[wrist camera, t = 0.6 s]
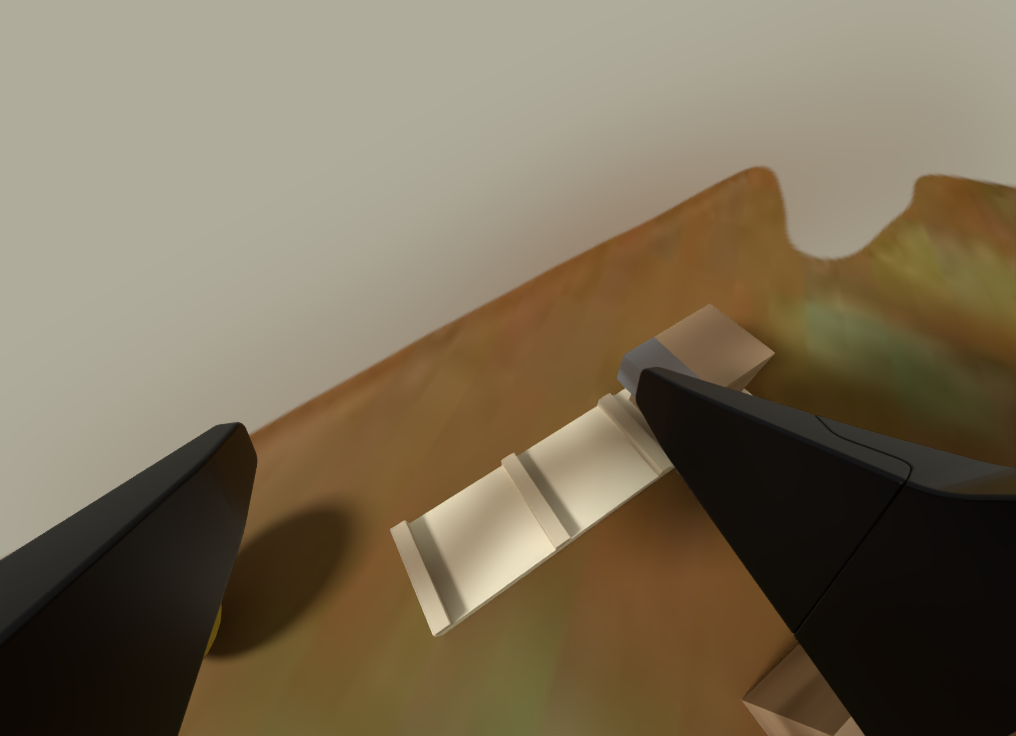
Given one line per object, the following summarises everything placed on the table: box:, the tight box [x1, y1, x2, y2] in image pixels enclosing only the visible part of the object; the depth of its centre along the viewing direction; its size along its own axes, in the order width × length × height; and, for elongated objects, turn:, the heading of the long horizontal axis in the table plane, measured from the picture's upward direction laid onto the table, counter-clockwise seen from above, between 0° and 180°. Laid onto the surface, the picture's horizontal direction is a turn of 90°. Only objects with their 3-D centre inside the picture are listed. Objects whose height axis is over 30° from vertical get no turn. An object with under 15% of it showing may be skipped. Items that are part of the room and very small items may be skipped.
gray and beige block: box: [742, 645, 865, 736], centre depth 13 cm, size 4×5×6 cm, turn 122°
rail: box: [390, 304, 775, 637], centre depth 18 cm, size 5×20×8 cm, turn 122°
